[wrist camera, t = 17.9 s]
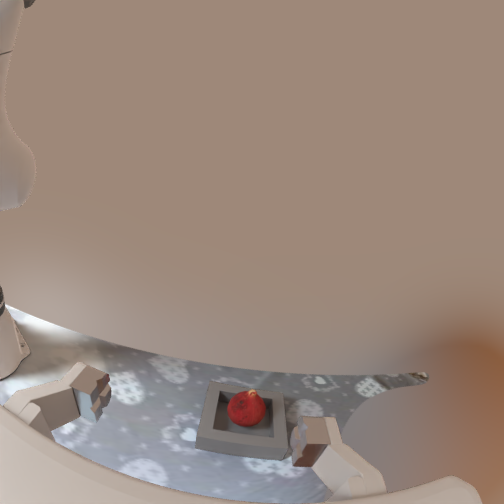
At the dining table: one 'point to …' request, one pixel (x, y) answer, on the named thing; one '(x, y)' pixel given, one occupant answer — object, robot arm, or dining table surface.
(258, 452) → the holder
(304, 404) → the dining table surface
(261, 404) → the red round fruit
